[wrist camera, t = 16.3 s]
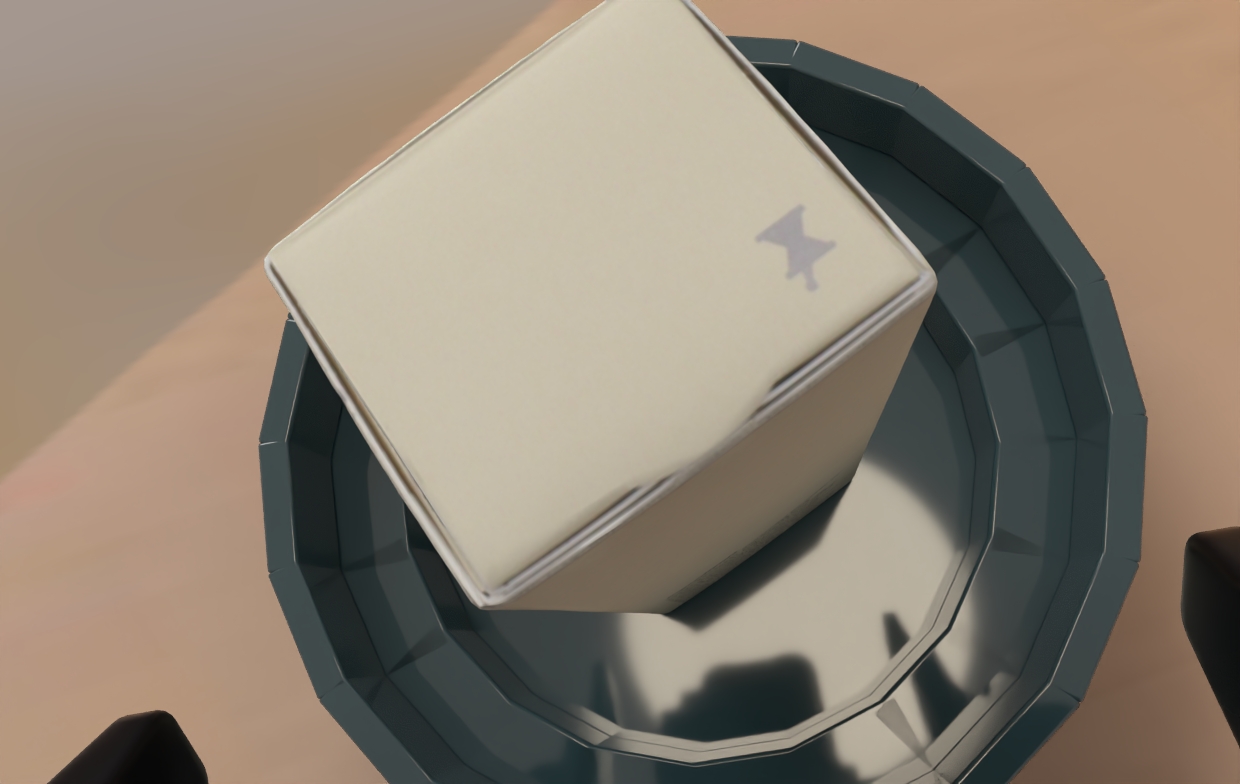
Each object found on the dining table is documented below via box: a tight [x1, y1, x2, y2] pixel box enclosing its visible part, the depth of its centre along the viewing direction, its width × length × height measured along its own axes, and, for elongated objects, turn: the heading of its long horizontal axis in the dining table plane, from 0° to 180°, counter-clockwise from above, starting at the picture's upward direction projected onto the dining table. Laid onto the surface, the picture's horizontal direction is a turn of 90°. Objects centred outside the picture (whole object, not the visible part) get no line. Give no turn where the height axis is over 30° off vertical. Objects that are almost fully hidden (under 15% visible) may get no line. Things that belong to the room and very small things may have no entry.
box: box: [264, 0, 938, 614], centre depth 16 cm, size 5×4×13 cm
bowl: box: [259, 36, 1148, 784], centre depth 20 cm, size 15×15×4 cm
